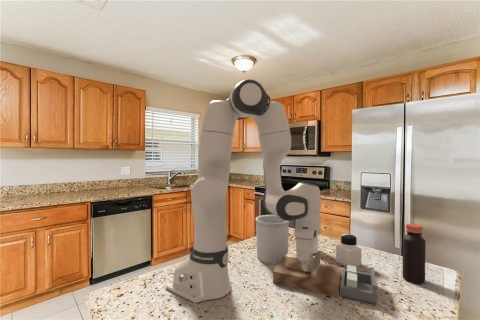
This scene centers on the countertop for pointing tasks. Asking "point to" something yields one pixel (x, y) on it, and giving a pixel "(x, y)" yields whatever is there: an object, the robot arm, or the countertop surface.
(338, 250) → the medicine bottle
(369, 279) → the box
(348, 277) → the tile
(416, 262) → the vinegar
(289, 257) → the scraper
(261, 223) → the utensil holder
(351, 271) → the tile
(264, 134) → the robot arm
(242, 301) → the countertop surface
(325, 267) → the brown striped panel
